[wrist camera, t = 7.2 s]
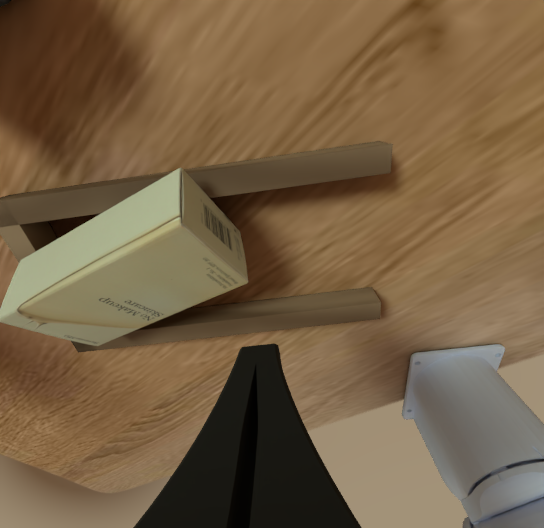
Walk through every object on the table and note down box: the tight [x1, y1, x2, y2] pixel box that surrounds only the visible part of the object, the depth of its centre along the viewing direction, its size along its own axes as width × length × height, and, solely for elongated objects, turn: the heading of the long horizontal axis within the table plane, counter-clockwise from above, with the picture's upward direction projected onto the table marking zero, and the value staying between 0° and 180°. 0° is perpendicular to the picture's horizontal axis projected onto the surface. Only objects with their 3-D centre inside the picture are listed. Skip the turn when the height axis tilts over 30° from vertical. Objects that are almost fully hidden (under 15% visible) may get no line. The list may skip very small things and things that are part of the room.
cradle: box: [0, 141, 393, 352], centre depth 19 cm, size 12×24×2 cm, turn 98°
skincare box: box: [0, 168, 248, 346], centre depth 16 cm, size 6×4×12 cm
